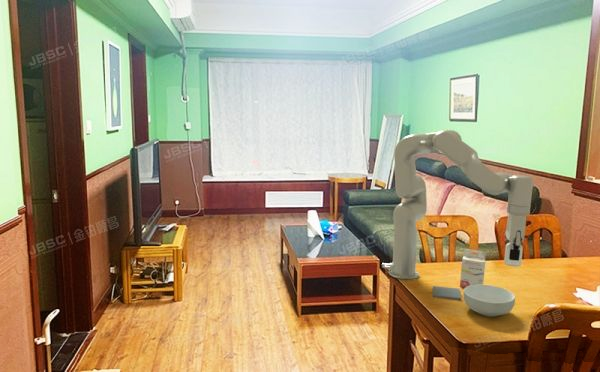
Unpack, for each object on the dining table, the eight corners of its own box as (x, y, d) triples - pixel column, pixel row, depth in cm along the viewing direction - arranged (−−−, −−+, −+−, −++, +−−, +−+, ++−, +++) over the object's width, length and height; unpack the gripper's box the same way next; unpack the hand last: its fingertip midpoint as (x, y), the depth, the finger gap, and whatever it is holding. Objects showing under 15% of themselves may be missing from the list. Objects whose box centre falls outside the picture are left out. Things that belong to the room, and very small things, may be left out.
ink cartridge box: (459, 287, 186) (462, 251, 184) (461, 283, 191) (463, 248, 189) (482, 290, 183) (485, 254, 181) (483, 286, 187) (486, 251, 185)
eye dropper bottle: (518, 268, 169) (522, 236, 167) (502, 264, 172) (505, 233, 171) (522, 265, 172) (525, 234, 170) (506, 261, 176) (509, 231, 174)
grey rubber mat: (432, 297, 176) (432, 295, 175) (432, 287, 185) (432, 285, 185) (460, 300, 173) (461, 298, 173) (459, 290, 182) (459, 288, 182)
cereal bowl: (463, 299, 174) (465, 281, 173) (512, 307, 168) (514, 288, 167) (460, 317, 158) (462, 297, 157) (514, 326, 152) (516, 305, 151)
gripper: (503, 204, 178) (499, 250, 181) (510, 213, 162) (505, 264, 165) (525, 206, 176) (520, 253, 179) (534, 215, 160) (528, 266, 163)
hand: (513, 257), depth 172 cm, fingers closed on eye dropper bottle, 3 cm apart
